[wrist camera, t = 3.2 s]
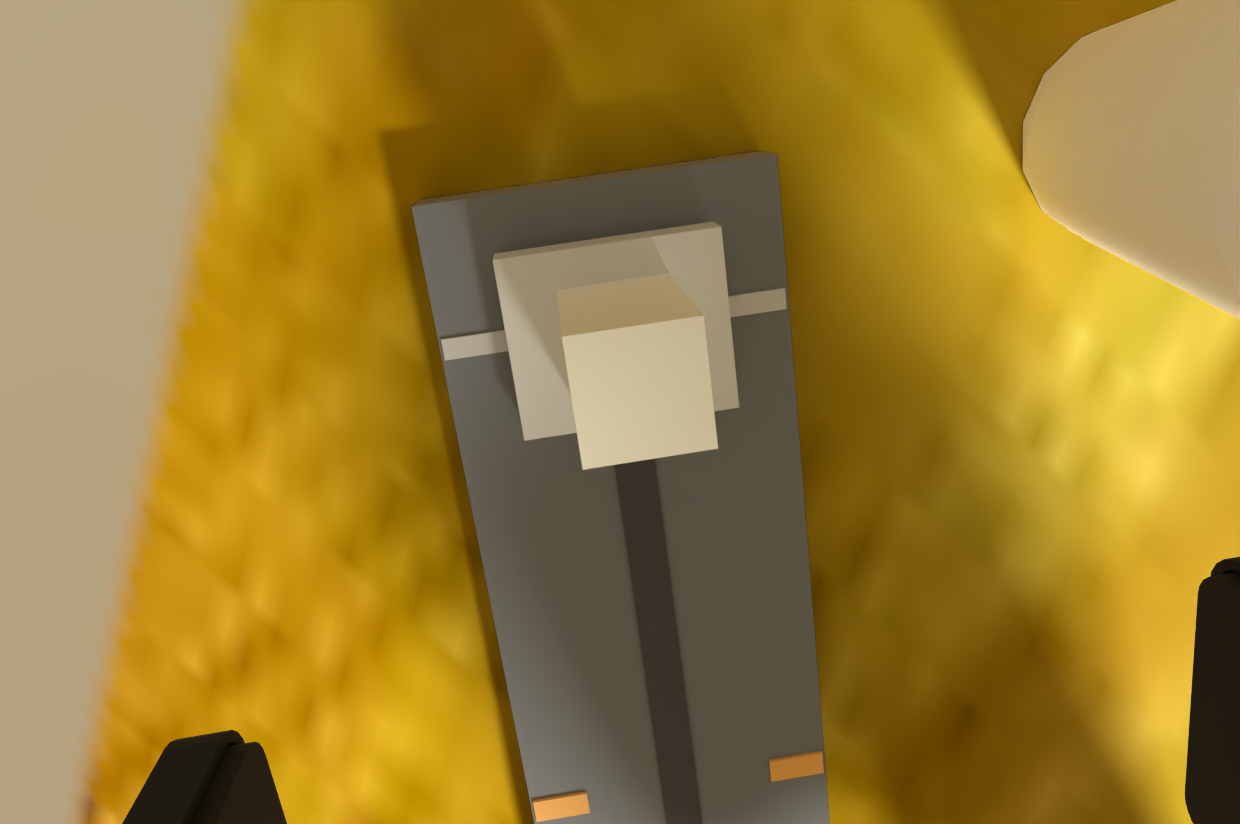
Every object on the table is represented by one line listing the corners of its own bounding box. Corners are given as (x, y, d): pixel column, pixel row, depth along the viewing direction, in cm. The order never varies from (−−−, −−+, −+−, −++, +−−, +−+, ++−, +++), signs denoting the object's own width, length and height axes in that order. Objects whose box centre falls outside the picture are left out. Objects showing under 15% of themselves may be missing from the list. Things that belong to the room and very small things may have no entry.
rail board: (760, 150, 28) (778, 153, 26) (820, 857, 36) (836, 901, 34) (419, 199, 27) (410, 207, 25) (557, 903, 36) (559, 950, 33)
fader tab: (712, 221, 26) (770, 257, 20) (730, 395, 27) (788, 480, 21) (494, 253, 26) (481, 300, 19) (525, 427, 27) (522, 522, 21)
